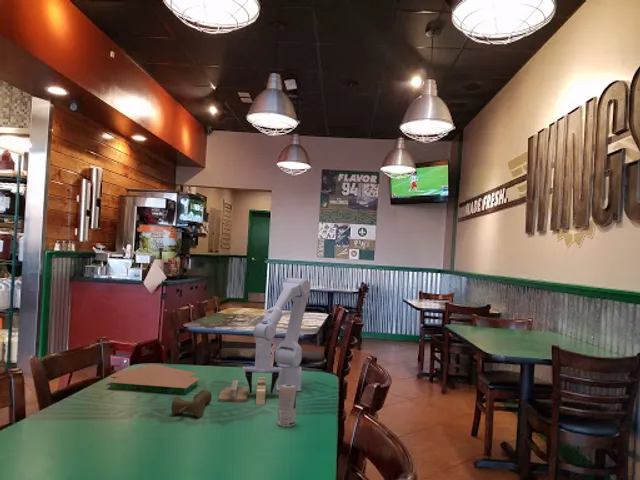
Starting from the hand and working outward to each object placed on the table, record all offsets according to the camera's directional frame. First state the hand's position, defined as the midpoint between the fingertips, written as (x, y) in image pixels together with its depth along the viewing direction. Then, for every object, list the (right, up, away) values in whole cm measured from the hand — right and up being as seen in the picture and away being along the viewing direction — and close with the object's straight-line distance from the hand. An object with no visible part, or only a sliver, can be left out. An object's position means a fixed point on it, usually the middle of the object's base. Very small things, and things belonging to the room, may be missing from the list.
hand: (261, 392), depth 182 cm
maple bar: (0, -2, 0) cm, 2 cm away
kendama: (-20, 0, -21) cm, 29 cm away
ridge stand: (-10, -1, 0) cm, 10 cm away
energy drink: (+11, -1, -29) cm, 31 cm away
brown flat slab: (-42, -1, +10) cm, 43 cm away
